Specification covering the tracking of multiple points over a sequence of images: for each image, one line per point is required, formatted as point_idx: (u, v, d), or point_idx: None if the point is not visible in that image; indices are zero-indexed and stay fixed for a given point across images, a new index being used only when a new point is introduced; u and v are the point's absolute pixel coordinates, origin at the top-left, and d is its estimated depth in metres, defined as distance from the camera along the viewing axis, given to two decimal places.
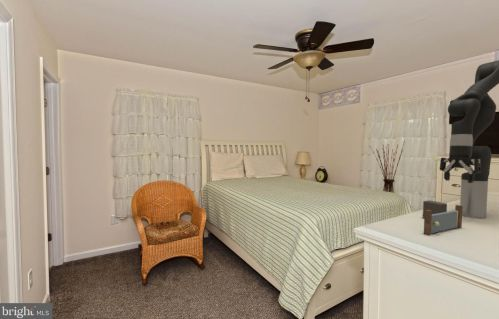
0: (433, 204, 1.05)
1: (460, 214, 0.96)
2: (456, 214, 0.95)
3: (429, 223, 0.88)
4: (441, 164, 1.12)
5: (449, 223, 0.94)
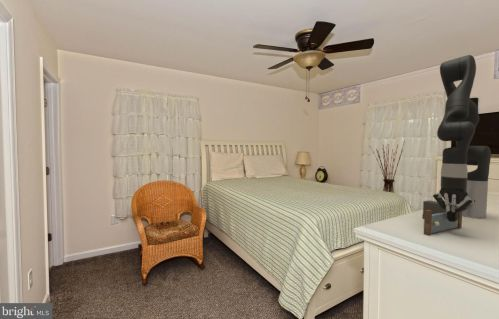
0: (433, 204, 1.05)
1: (460, 214, 0.96)
2: None
3: (429, 223, 0.88)
4: (439, 202, 0.94)
5: (449, 223, 0.94)
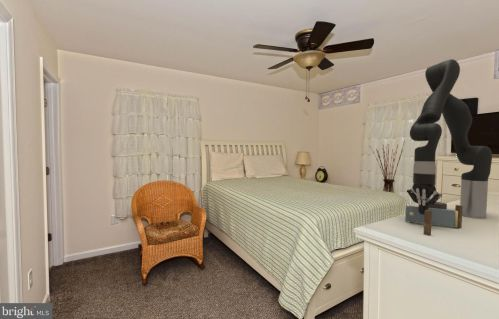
0: (433, 204, 1.05)
1: (460, 214, 0.96)
2: (453, 213, 0.96)
3: (429, 223, 0.88)
4: (411, 196, 1.03)
5: (439, 219, 0.99)
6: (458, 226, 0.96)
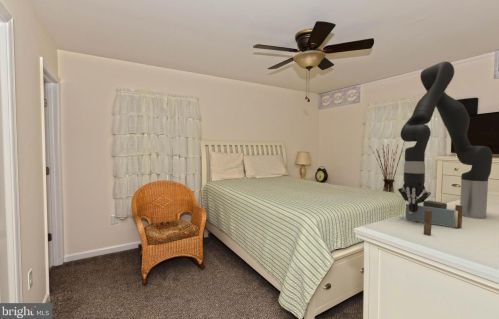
0: (433, 204, 1.05)
1: (460, 214, 0.96)
2: (452, 213, 0.97)
3: (429, 223, 0.88)
4: (402, 195, 1.07)
5: (438, 219, 1.00)
6: (458, 226, 0.96)
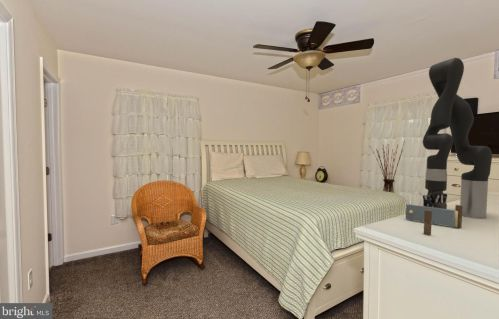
0: None
1: (460, 214, 0.96)
2: (452, 213, 0.97)
3: (429, 223, 0.88)
4: None
5: (438, 219, 1.00)
6: (458, 226, 0.96)
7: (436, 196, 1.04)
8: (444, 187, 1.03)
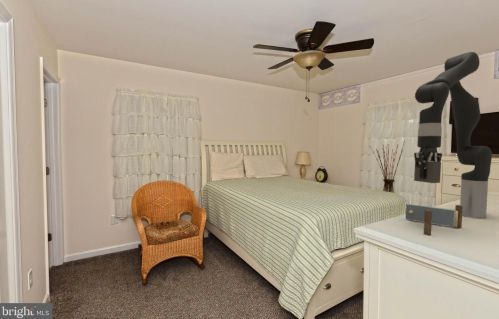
0: None
1: (460, 214, 0.96)
2: (452, 213, 0.97)
3: (429, 223, 0.88)
4: None
5: (438, 219, 1.00)
6: (458, 226, 0.96)
7: (429, 154, 0.93)
8: (438, 143, 0.91)
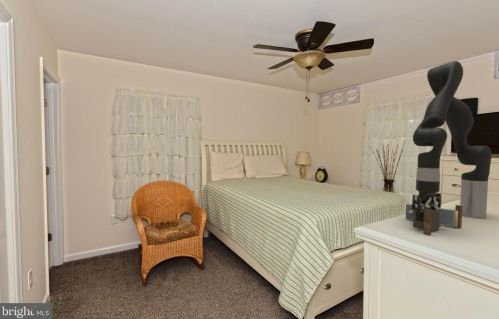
0: (424, 211, 0.94)
1: (460, 214, 0.96)
2: (452, 213, 0.97)
3: (429, 223, 0.88)
4: None
5: None
6: (458, 226, 0.96)
7: (428, 198, 0.93)
8: (437, 188, 0.91)
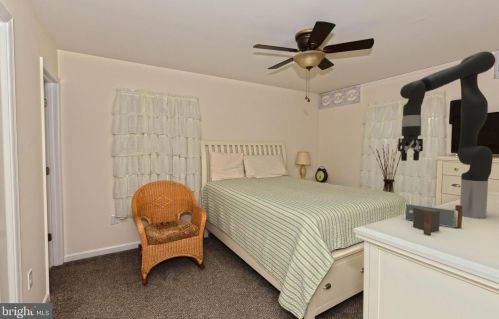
0: (424, 211, 0.94)
1: (460, 214, 0.96)
2: (452, 213, 0.97)
3: (429, 223, 0.88)
4: None
5: None
6: (458, 226, 0.96)
7: (411, 141, 1.10)
8: (418, 132, 1.08)
